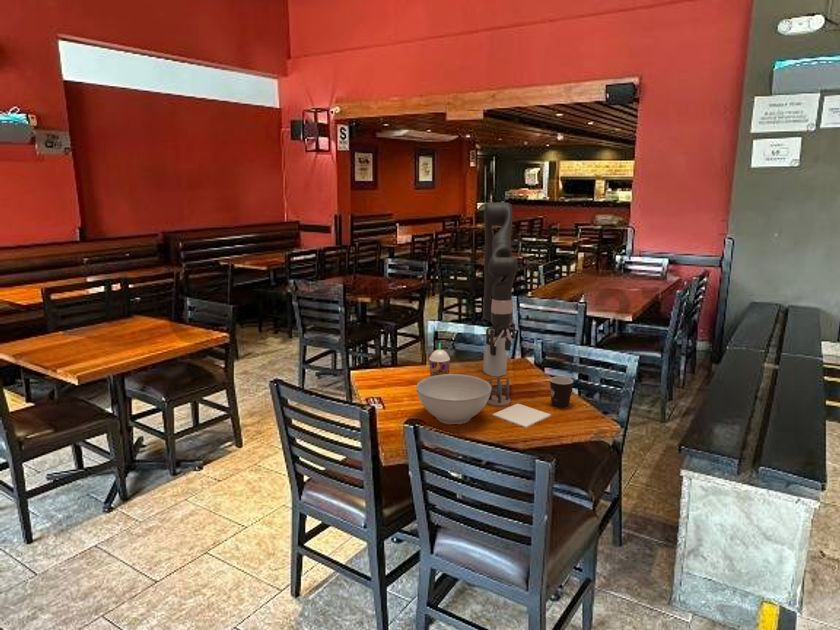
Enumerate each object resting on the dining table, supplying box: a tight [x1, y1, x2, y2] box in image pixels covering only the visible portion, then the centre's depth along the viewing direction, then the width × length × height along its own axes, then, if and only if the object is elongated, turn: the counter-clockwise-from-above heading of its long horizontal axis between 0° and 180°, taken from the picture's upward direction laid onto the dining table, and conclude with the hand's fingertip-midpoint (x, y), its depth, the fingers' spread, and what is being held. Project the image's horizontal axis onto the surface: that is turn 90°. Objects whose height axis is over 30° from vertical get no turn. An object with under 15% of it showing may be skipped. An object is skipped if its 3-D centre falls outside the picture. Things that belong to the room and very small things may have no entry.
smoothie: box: [428, 342, 451, 377], centre depth 240 cm, size 8×8×20 cm
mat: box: [491, 403, 552, 429], centre depth 216 cm, size 15×15×1 cm
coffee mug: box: [549, 376, 574, 409], centre depth 227 cm, size 12×9×10 cm
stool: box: [486, 376, 511, 408], centre depth 228 cm, size 9×9×10 cm
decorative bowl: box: [415, 373, 493, 425], centre depth 214 cm, size 27×27×12 cm
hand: (500, 352), depth 224 cm, fingers open, 8 cm apart
